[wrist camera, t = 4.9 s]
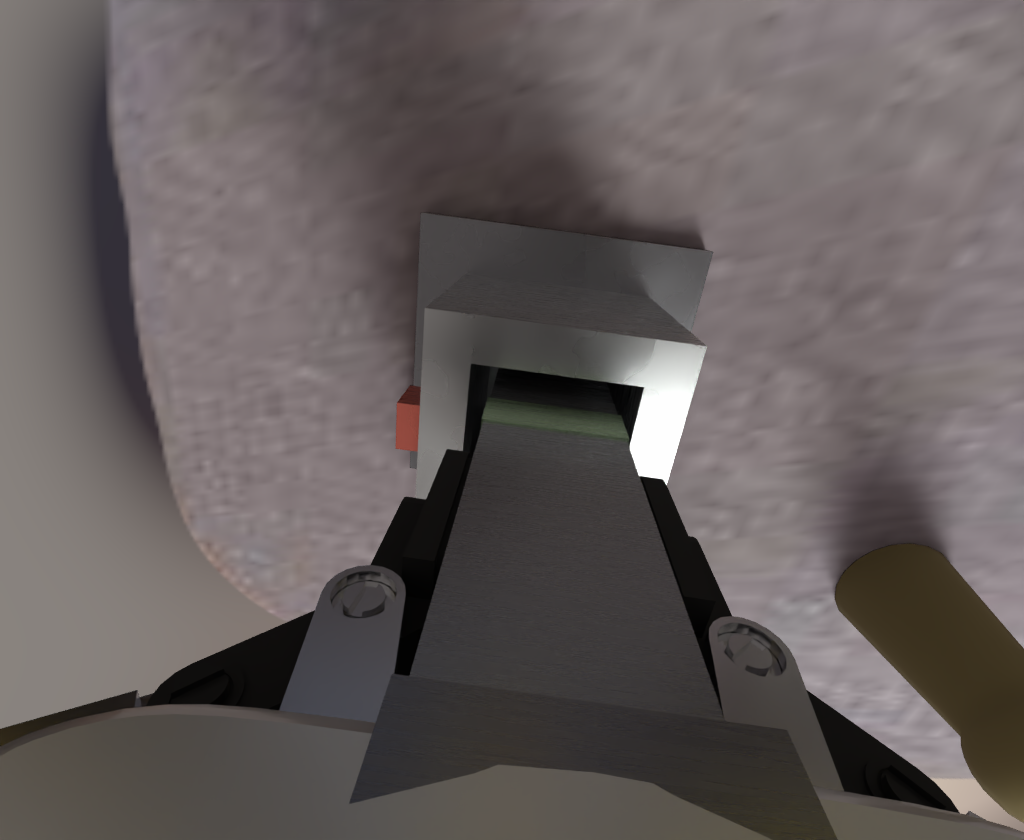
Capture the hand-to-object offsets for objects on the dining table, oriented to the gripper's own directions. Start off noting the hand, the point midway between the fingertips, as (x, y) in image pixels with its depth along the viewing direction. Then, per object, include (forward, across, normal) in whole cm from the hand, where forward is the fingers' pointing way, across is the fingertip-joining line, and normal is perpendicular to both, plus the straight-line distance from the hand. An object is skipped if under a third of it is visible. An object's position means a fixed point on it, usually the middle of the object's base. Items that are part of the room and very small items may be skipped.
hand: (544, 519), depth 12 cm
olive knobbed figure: (+13, -21, +10) cm, 27 cm away
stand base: (+13, 0, 0) cm, 13 cm away
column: (+9, 0, 0) cm, 9 cm away
